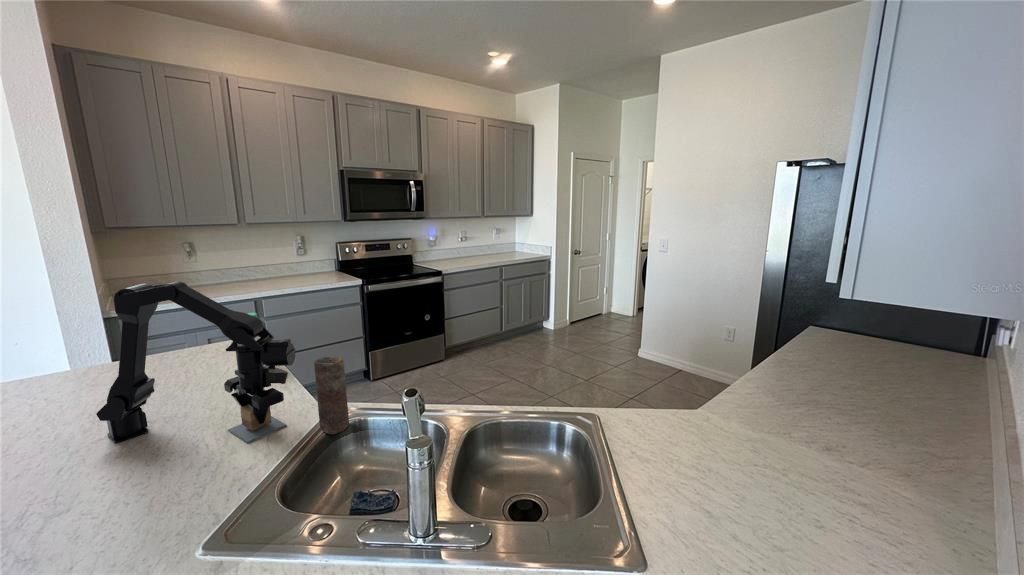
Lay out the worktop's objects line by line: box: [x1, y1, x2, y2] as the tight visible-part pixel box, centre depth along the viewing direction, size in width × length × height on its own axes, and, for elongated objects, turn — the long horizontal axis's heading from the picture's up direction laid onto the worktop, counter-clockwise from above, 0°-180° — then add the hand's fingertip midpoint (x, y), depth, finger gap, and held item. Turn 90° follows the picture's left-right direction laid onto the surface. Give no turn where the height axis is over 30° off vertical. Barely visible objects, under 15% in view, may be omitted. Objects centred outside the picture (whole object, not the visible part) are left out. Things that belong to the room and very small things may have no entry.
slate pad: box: [227, 415, 287, 445], centre depth 110 cm, size 10×10×1 cm
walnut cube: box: [240, 405, 272, 431], centre depth 109 cm, size 5×5×5 cm
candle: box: [313, 356, 350, 435], centre depth 109 cm, size 8×7×20 cm
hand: (256, 420), depth 109 cm, fingers closed on walnut cube, 5 cm apart
